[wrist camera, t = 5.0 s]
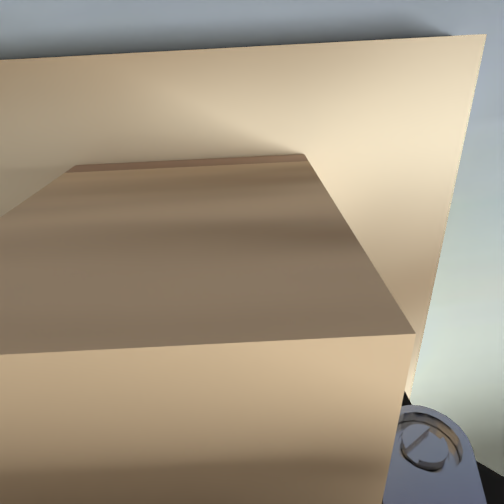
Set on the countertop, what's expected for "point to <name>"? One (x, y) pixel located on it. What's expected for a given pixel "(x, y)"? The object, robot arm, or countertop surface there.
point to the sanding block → (194, 340)
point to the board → (268, 130)
